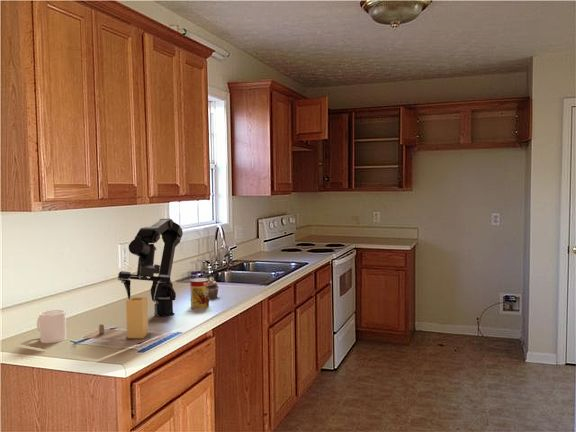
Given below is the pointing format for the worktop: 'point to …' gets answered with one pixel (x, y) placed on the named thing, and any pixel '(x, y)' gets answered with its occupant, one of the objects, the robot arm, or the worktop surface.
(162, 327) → the worktop surface
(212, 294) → the cupcake
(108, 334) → the board
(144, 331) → the sleeve
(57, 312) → the mug
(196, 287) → the canned food
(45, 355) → the worktop surface
